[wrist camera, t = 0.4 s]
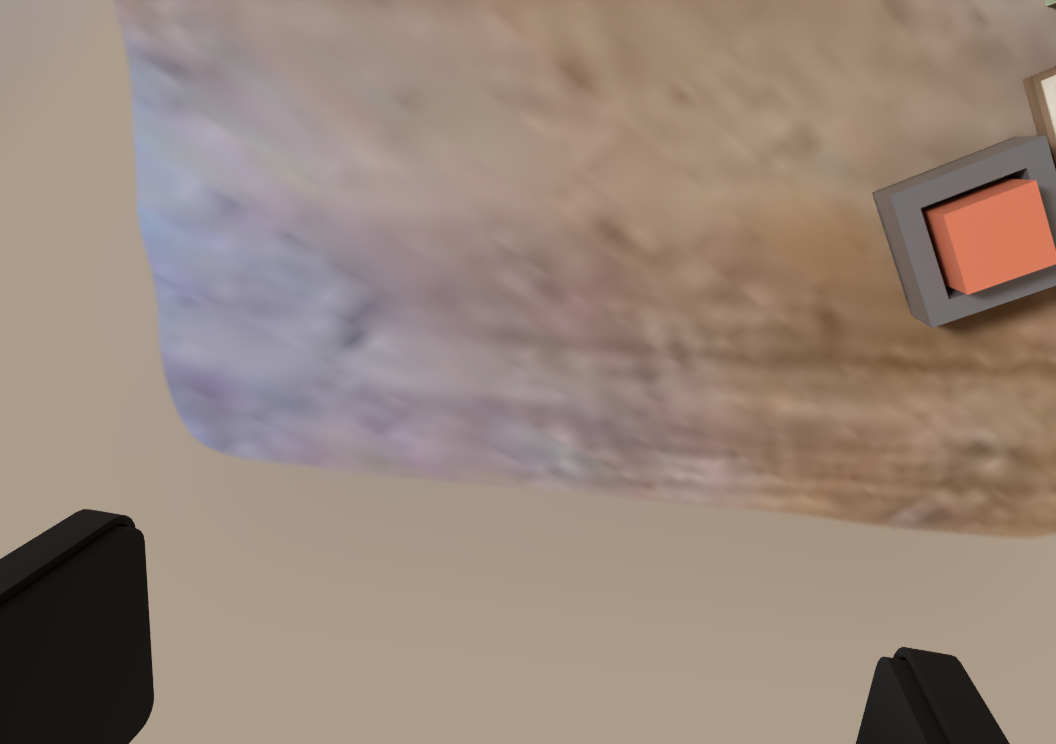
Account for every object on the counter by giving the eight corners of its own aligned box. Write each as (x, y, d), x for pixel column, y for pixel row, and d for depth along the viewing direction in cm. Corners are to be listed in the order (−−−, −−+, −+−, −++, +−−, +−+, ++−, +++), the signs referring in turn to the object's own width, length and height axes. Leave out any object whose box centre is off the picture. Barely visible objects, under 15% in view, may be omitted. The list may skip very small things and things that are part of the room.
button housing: (872, 192, 40) (890, 195, 37) (1014, 137, 38) (1046, 135, 35) (911, 315, 41) (932, 328, 38) (1051, 266, 39) (1084, 276, 36)
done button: (920, 210, 38) (943, 215, 35) (1005, 178, 37) (1036, 180, 34) (943, 284, 39) (967, 295, 36) (1026, 254, 38) (1059, 262, 35)
